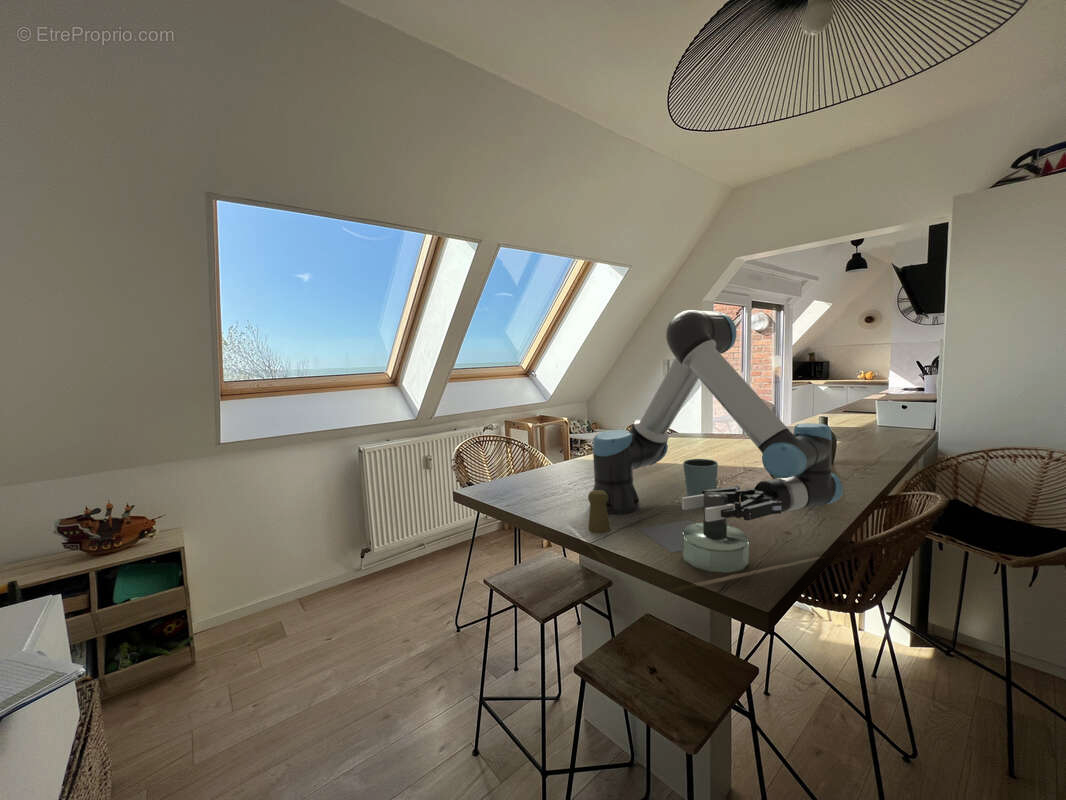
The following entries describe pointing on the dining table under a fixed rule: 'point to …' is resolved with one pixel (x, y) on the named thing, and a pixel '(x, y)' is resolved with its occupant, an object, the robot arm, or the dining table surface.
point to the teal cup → (700, 475)
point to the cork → (598, 512)
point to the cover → (715, 542)
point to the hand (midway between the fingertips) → (694, 509)
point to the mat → (668, 534)
